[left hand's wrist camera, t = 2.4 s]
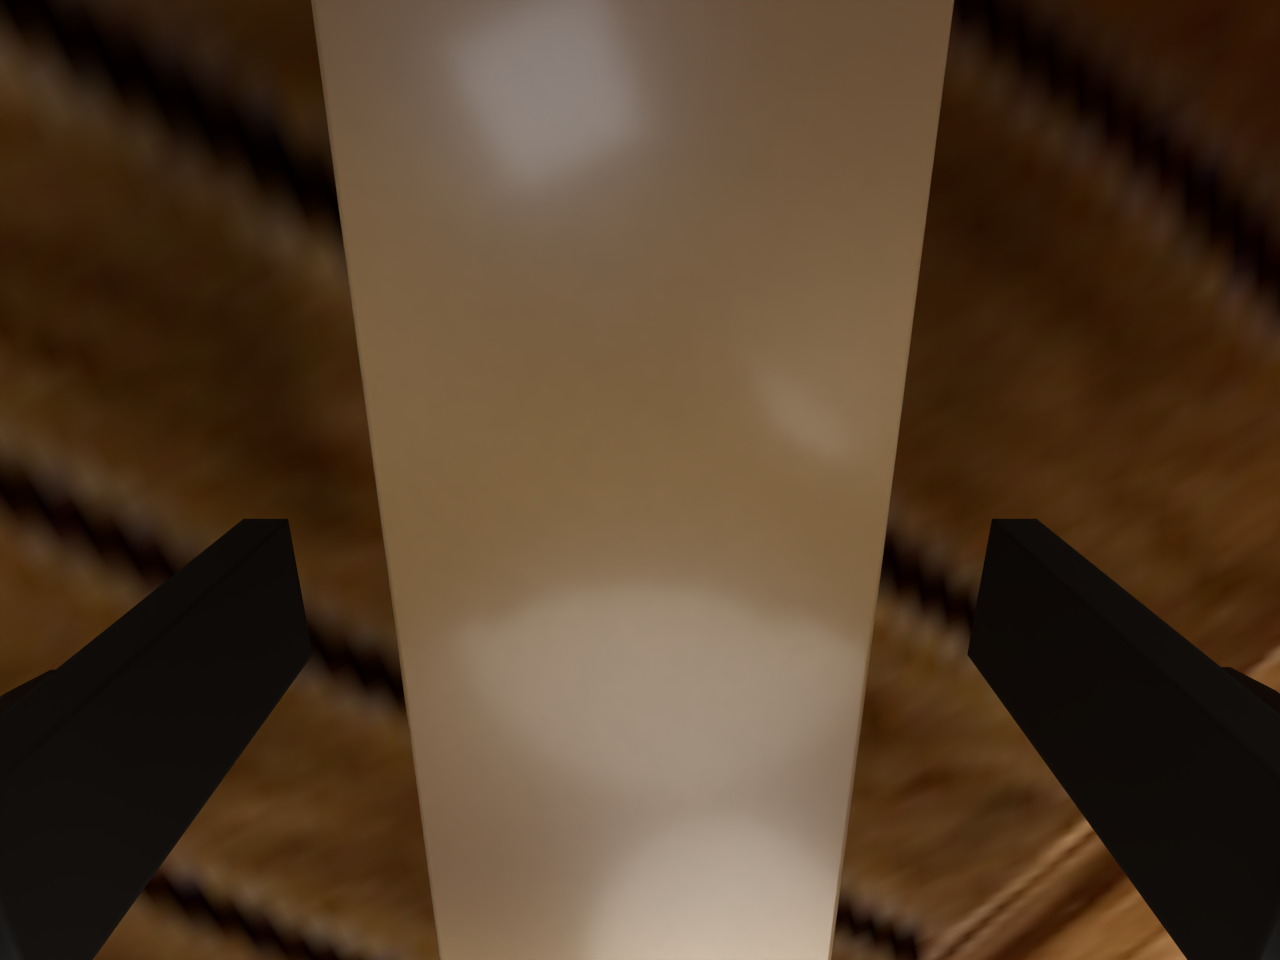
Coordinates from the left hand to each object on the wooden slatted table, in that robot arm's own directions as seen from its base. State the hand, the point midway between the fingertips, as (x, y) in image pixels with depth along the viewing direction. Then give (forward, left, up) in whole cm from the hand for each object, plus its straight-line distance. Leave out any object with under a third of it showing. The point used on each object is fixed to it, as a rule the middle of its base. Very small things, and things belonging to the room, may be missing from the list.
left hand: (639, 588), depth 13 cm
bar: (-4, +7, -2) cm, 9 cm away
